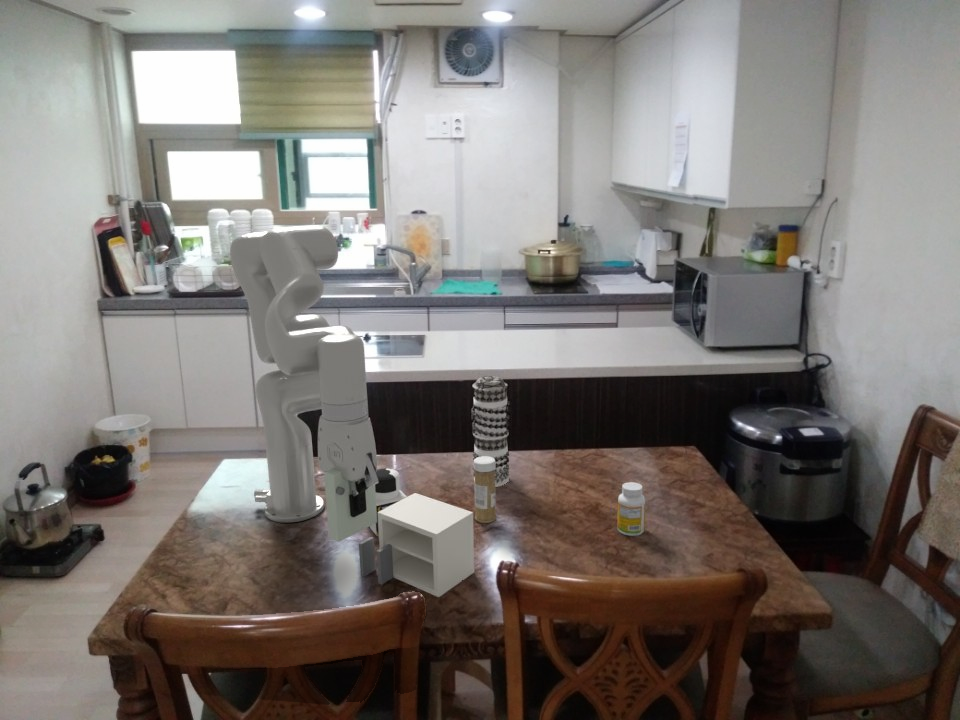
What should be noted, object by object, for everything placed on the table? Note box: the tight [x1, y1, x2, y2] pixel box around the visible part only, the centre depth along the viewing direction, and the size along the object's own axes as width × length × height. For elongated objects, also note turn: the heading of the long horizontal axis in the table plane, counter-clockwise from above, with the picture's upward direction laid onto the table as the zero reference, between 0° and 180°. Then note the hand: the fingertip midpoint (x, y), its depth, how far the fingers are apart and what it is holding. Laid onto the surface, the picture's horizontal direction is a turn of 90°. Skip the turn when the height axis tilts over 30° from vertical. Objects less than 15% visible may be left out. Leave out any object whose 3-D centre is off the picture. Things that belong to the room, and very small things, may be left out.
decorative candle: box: [470, 375, 511, 488], centre depth 170 cm, size 9×9×25 cm
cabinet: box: [358, 492, 475, 598], centre depth 132 cm, size 16×13×12 cm
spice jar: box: [473, 456, 497, 524], centre depth 152 cm, size 5×5×13 cm
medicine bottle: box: [368, 468, 408, 537], centre depth 150 cm, size 7×7×12 cm
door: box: [323, 469, 377, 543], centre depth 124 cm, size 3×9×12 cm, turn 143°
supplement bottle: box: [616, 481, 646, 537], centre depth 147 cm, size 5×5×10 cm
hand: (352, 510), depth 125 cm, fingers closed on door, 2 cm apart
